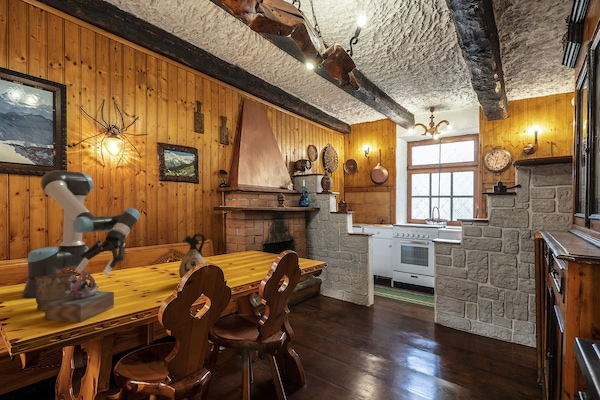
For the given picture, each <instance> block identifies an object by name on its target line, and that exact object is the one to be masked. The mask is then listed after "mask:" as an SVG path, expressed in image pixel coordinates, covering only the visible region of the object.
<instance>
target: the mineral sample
mask: <svg viewBox="0 0 600 400" xmlns="http://www.w3.org/2000/svg"><path fill="white" fill-rule="evenodd" d="M73 275H74V276H75V279H78V277H77V271H68V272H61V273H57V274H53V275H47V276H40V277H35V284H36V297H35V301H36V304H37V305H36V309H37V310H38V311H45V302H48V301H51V300H54V299H58V298H61V297H64V296H67V294H66V293H64V292H65V291H70V290H71V288H70V285H71V283H72V282H70V281H68V279H69V278H70V276H73Z"/></svg>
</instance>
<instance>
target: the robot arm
mask: <svg viewBox="0 0 600 400" xmlns="http://www.w3.org/2000/svg"><path fill="white" fill-rule="evenodd" d="M40 186H41V190H43V192H44V193H45V194H46V195H47V196H49V197H52V198H53V199H54V201H55V202H56V203H57V204H58V205H59V207H61V208H62V209H63V210H64V211H63V227H62V228H63V231H62V242H61V243H59V245H58V247H57V246H48V247H46V246H45V247H40V248H36V249H33V250H31V251H30V252H28V256H27V281H26V283H25V285H24V288H23V291H22V294H21V295H22V298H25V299H26V298H27V299H32V298H35V299H36V284H35V277H40V276H47V275H53V274H58V271H63V270H68V269H72V268H74V269H75V270H74V272H76V273H78V274H80V275H81V274H82V272H83V271H84V270H85V268H86V267H87V265H88V264H89V262H90V260H91V259H93V258H95V257H96V256H98V255H100V254H101V253H105V252H110V253H112V258H111V259H110V260H109V261H108V263H107V264H106V266H105V268H104V269H103V270H102V272H103V274H105V275H106V276H108V275H109V274H110V272H111V271H112V269H113V268H115V266H116V265H117V264H118V263H119V262H123V261H124V256H125V248H126V246H127V244H126V243H125V240H126V238H127V237H128V235H129V233H130V232H131V231H132V229H133V228H134V226H135V225H136V223H137V222H138V220H139V219H140V217H141V213H140V212H139V211H138V210H137V209H136V208H134V207H127V208H126V209H125V210H124V211H123V213H119V214H116V215H107V216H103V215H101V216H98V215H97V216H95V215H94V214H92V213H91V212H90V210H89V209H88V208H87V207H86V206H85V204H84V202H85V199H86V198H87V197H88V194H89V193H91V192H92V190H93V188H94V182H93V179H92V177H91V175H89V174H87V173H84V172H81V171H69V170H60V169H55V170H50V171H47V172H46V173H45V174H44V175H43V176H42V177H41V180H40ZM97 232H108V233H107V234H106V236H105V239H104V241H101V240H97V241H96V242H95V244H93V245H91V247H88V246H87V245H86V243H85V242H84V241H83V234H87V233H97Z"/></svg>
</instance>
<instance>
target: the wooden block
mask: <svg viewBox="0 0 600 400" xmlns="http://www.w3.org/2000/svg"><path fill="white" fill-rule="evenodd" d="M97 293H98V294H96V295H95V296H92V297H90V298H85V299H72V298H71V297H70V296H69V295H67V296H64V297H61V298H58V299H54V300H51V301H48V302H45V310H44V321H52V322H65V321H66V322H67V323H83V322H84V321H87V320H89V319H91V318H94V317H96V316H98V315H101V314H103V313H105V312H107V311H109V310H111V309H113V308H114V307H115V306H114V303H115V298H114V297H115V292H114V291H105V290H104V291H103V290H100V291H99V290H98V292H97Z"/></svg>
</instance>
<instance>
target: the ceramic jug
mask: <svg viewBox="0 0 600 400" xmlns="http://www.w3.org/2000/svg"><path fill="white" fill-rule="evenodd" d="M197 237H199V238H201V243H200V242H199V240H198V239H197ZM205 240H206V238H205V234H203V233H201V232H197V233H196V232H195V234H193V236H192V237H191V236H190V235H187V236H186V237H184V238H183V239H182V242H183V243H186V244H189V246H190V247H189V250H187V252H186V254H185V255H184V257H183V258H182V260H181V261H180V265H179V269H178V270H179V271H178V274H179V277H180V279H181V278H182V277H183V276H184V275H185V274H186V273H187V272H188V271H189V270H190V269H192V268H193V267H194V266H196V265H199V264H203V263H206V261H205V258H204V255H203V251H202V250H203V247H204V244H205ZM198 244H200V245H199V247H197V245H198ZM206 264H207V263H206Z"/></svg>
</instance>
